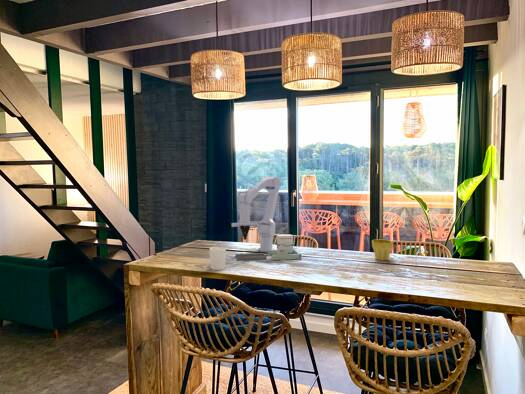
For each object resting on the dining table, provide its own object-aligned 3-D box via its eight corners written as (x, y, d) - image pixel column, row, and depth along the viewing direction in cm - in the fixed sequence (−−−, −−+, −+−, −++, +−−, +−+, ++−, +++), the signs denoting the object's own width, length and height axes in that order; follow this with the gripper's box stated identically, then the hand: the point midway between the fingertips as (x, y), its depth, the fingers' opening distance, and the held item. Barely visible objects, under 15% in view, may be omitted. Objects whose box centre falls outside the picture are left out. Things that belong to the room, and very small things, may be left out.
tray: (267, 254, 228) (267, 250, 228) (295, 253, 230) (295, 249, 230) (271, 260, 214) (271, 255, 214) (301, 258, 216) (301, 254, 216)
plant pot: (373, 261, 210) (373, 242, 209) (370, 256, 220) (370, 239, 219) (393, 261, 209) (394, 242, 208) (389, 257, 219) (390, 239, 218)
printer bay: (235, 256, 223) (235, 254, 222) (264, 255, 225) (264, 252, 225) (236, 260, 214) (236, 257, 214) (266, 259, 216) (266, 256, 216)
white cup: (206, 268, 197) (206, 248, 196) (218, 265, 202) (218, 246, 202) (217, 271, 191) (216, 250, 191) (229, 268, 197) (229, 248, 196)
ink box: (291, 254, 226) (291, 234, 225) (293, 256, 221) (293, 235, 220) (276, 255, 225) (276, 234, 224) (278, 257, 220) (278, 236, 219)
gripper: (232, 216, 217) (232, 241, 218) (258, 215, 219) (259, 240, 220) (231, 214, 224) (231, 238, 225) (257, 214, 226) (257, 238, 227)
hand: (245, 239), depth 223 cm, fingers closed
